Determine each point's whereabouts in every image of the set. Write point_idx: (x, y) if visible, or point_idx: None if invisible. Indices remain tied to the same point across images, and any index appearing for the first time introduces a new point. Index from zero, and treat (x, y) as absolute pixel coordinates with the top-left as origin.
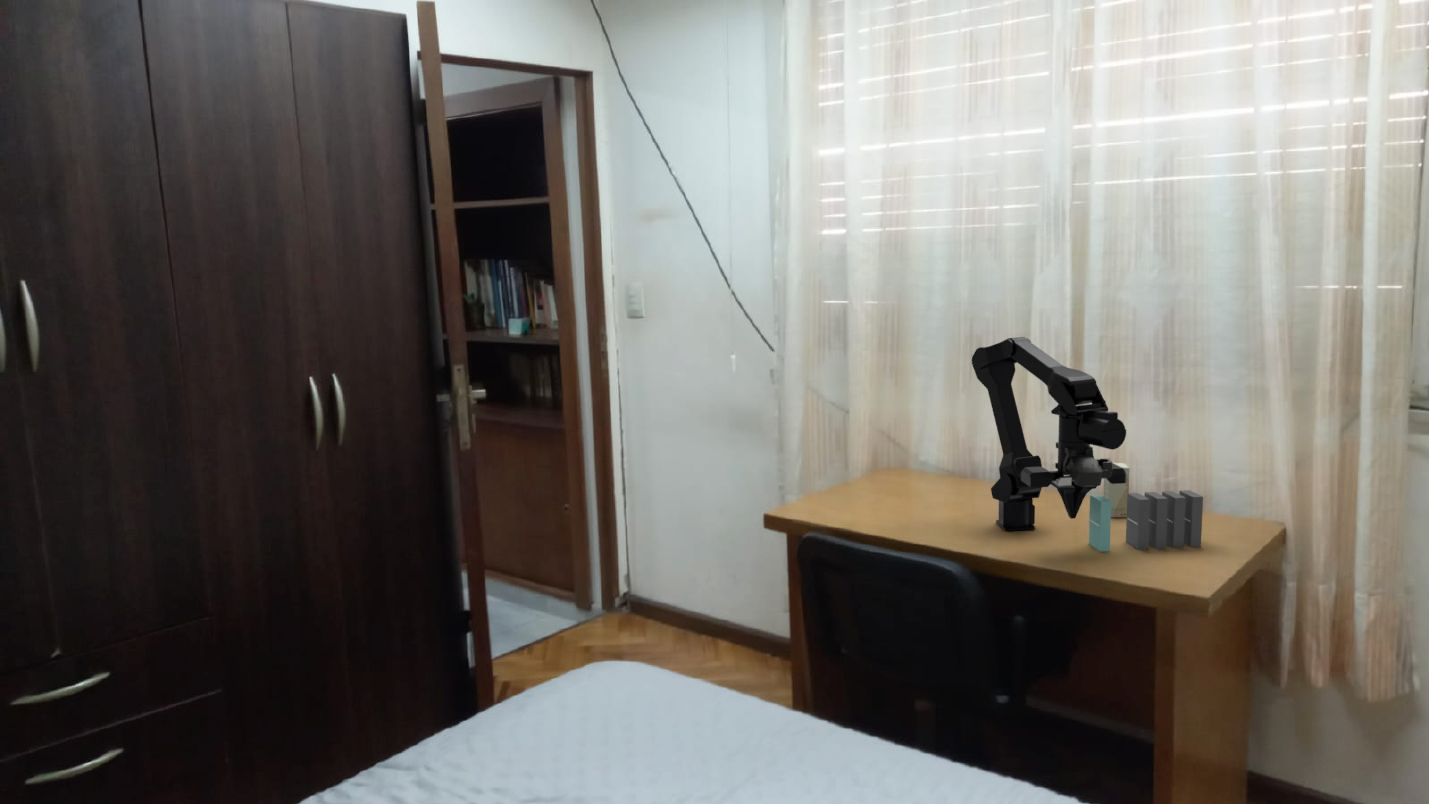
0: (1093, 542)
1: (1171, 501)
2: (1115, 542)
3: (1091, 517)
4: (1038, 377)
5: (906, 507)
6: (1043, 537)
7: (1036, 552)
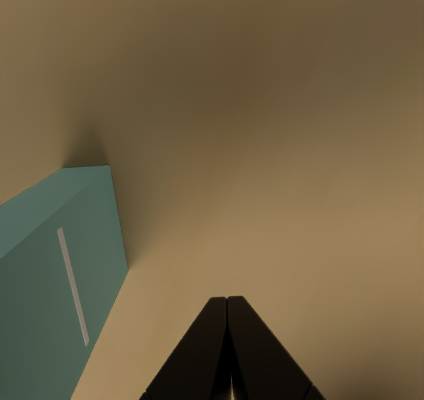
0: (115, 238)
1: None
2: None
3: (76, 348)
4: None
5: None
6: None
7: (403, 178)
